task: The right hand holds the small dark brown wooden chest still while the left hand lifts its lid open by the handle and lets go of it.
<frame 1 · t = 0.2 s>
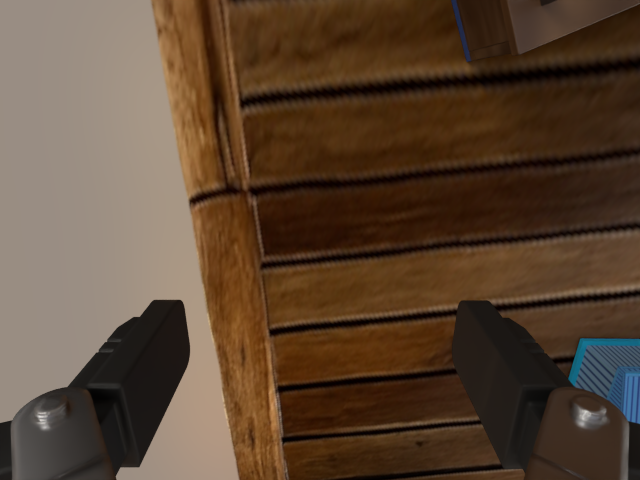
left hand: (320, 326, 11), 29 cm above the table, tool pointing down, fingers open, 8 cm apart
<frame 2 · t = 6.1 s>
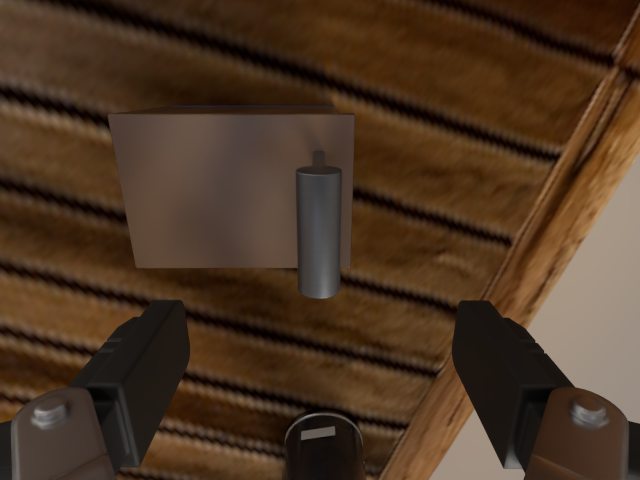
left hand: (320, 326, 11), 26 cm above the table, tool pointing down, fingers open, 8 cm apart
chest: (257, 163, 36), on the table
lid: (225, 212, 22), point 15 cm above the table, hinge at 0.0°
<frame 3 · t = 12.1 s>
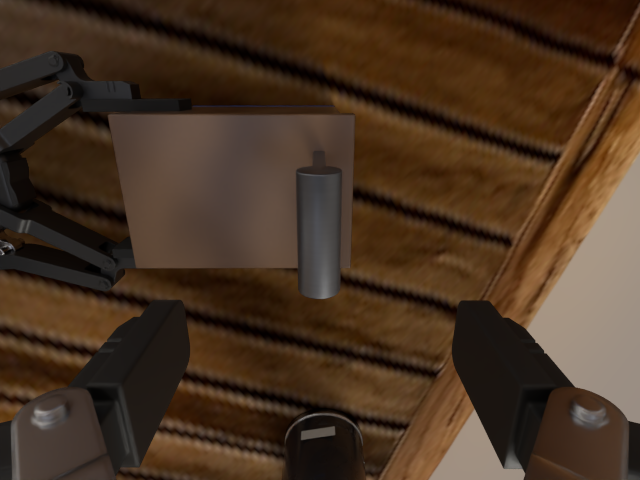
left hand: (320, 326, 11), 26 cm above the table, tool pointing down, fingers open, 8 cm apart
right hand: (194, 180, 29), fingers closed on chest, 10 cm apart
chest: (257, 163, 36), on the table, touching right hand
lid: (226, 212, 22), point 15 cm above the table, hinge at 0.0°
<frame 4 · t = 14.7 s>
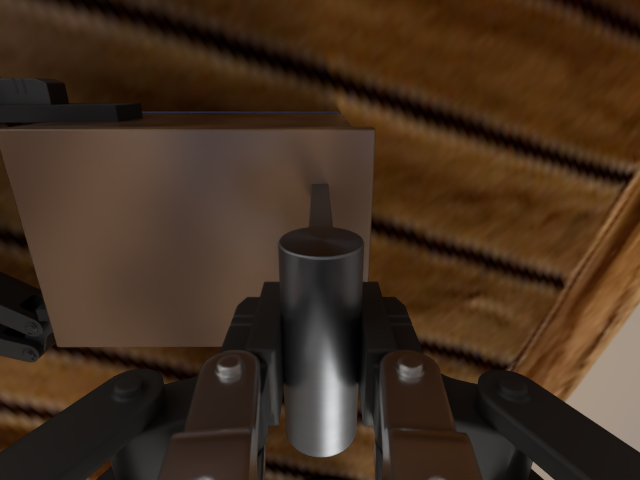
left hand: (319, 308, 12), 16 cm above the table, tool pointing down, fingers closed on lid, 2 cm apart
chest: (240, 186, 28), on the table, touching right hand
lid: (172, 286, 14), point 15 cm above the table, hinge at -0.1°, touching left hand
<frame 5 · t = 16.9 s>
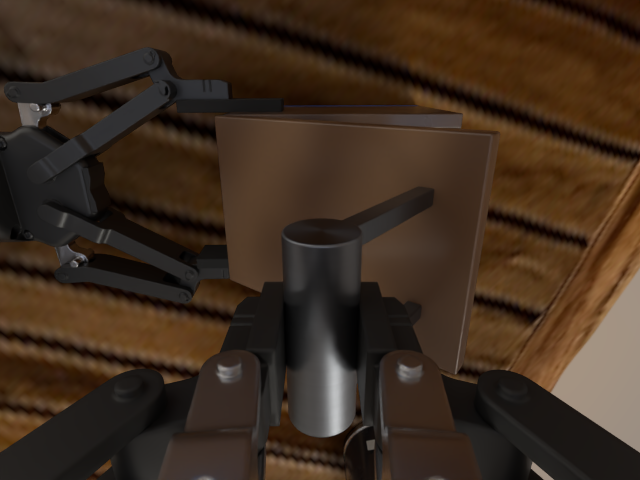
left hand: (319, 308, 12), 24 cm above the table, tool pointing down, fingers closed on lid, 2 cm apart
right hand: (285, 185, 28), fingers closed on chest, 10 cm apart
chest: (332, 166, 34), on the table, touching right hand
lid: (271, 251, 17), point 19 cm above the table, hinge at 39.4°, touching left hand
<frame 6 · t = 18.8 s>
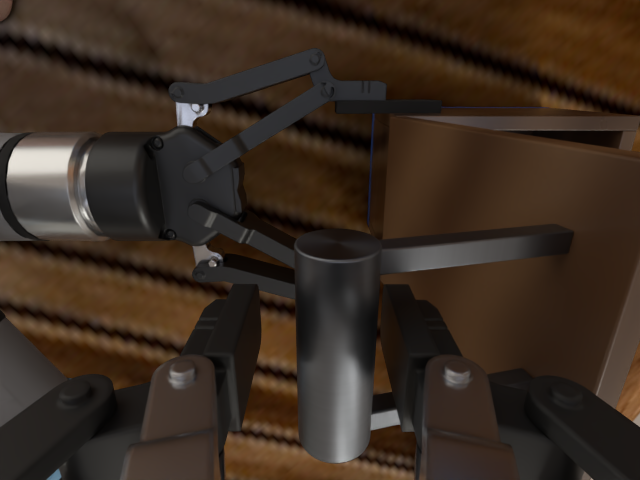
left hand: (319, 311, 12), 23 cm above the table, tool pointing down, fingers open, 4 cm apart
right hand: (427, 187, 28), fingers closed on chest, 10 cm apart
chest: (450, 168, 34), on the table, touching right hand
lid: (377, 259, 16), point 19 cm above the table, hinge at 75.9°
when the right hand's fingers open (7 cm above the table, at t = 22.6 s): chest stays where it is, on the table.
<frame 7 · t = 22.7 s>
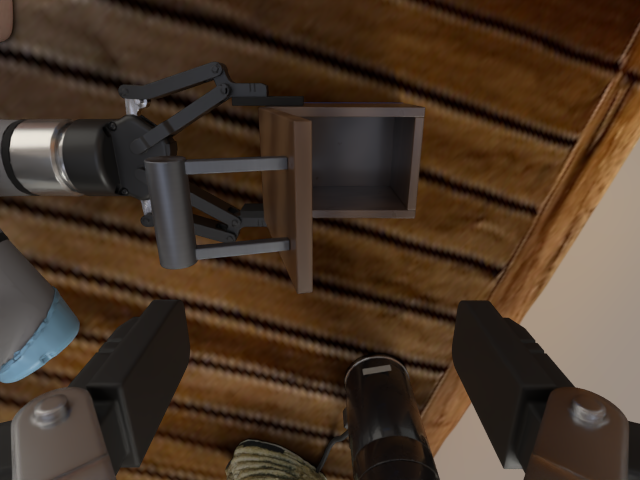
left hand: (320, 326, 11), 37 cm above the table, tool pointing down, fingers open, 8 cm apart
right hand: (304, 158, 39), fingers open, 10 cm apart
chest: (338, 148, 46), on the table
lid: (227, 188, 28), point 19 cm above the table, hinge at 74.6°
fossil: (285, 466, 64), on the table
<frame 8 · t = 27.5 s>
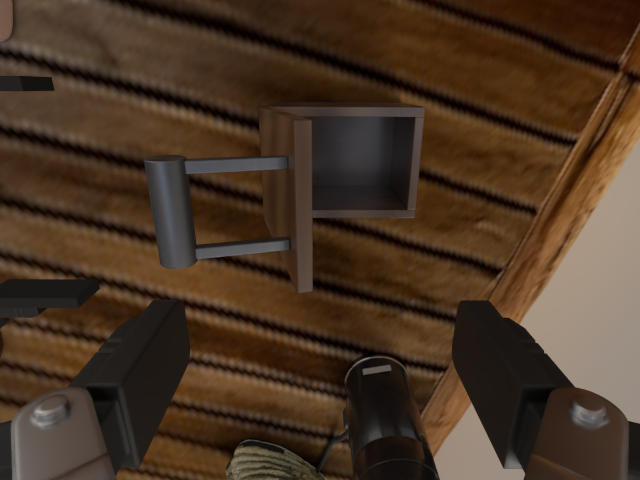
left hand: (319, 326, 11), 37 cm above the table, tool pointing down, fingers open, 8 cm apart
chest: (338, 148, 46), on the table
lid: (227, 187, 28), point 19 cm above the table, hinge at 74.6°
fossil: (285, 466, 64), on the table
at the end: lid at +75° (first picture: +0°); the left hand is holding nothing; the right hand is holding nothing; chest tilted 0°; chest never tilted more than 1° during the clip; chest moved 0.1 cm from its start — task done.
